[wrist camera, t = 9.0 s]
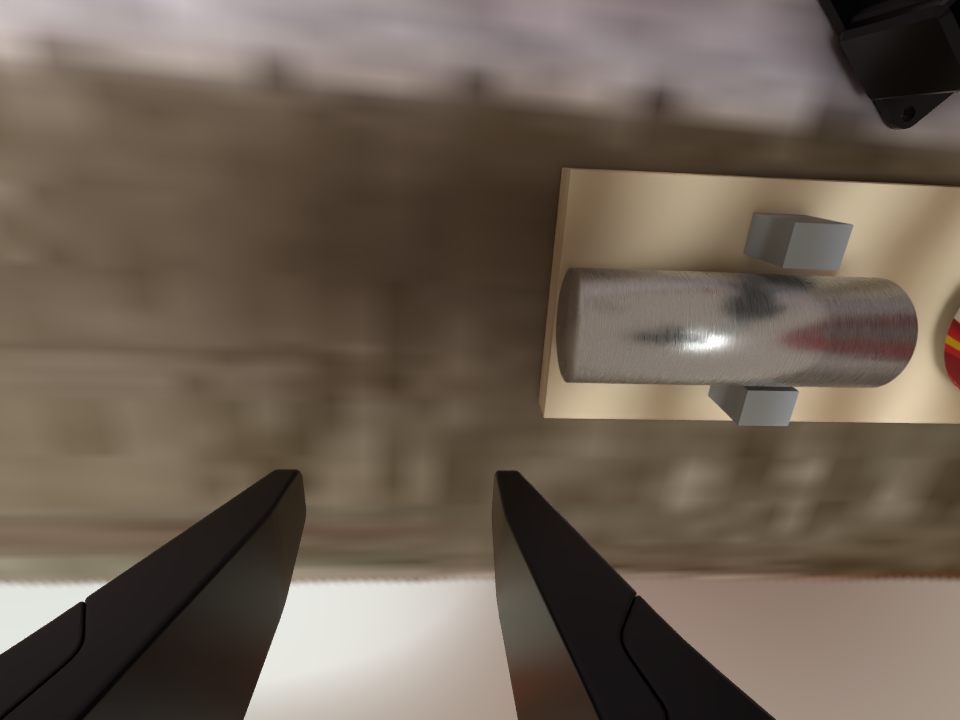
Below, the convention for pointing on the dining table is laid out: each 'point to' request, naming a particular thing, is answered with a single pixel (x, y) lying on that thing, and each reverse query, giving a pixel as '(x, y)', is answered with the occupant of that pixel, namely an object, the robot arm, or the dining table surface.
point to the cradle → (763, 250)
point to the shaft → (732, 329)
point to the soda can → (953, 350)
